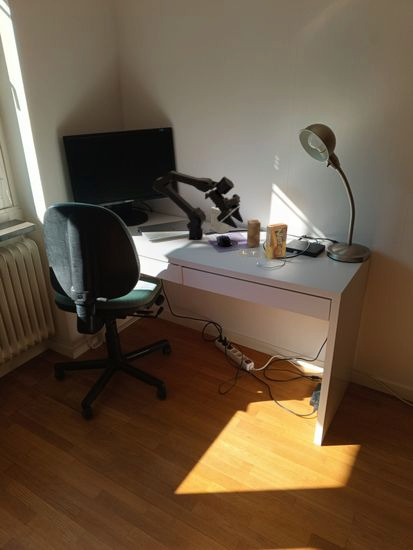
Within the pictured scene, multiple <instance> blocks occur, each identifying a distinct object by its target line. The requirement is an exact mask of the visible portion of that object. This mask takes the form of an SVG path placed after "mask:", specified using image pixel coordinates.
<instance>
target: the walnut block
mask: <svg viewBox="0 0 413 550" xmlns="http://www.w3.org/2000/svg"><path fill="white" fill-rule="evenodd" d="M261 224H262V222H261V221H259V220H258V219H251V220H248V219H247V230H246V232H247V233H246V235H247V236H246V245H247V246H248V247H249V248H258V247H260V245H261V242H260V240H261Z"/></svg>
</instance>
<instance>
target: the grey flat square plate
mask: <svg viewBox="0 0 413 550" xmlns="http://www.w3.org/2000/svg"><path fill="white" fill-rule="evenodd" d="M260 250H261V249H259V248H238V256H237V257H239V258H245V257H246V258H261V251H260Z"/></svg>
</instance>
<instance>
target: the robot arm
mask: <svg viewBox="0 0 413 550" xmlns="http://www.w3.org/2000/svg"><path fill="white" fill-rule="evenodd" d="M173 181H175V182H177V183H182V184H185V185H188V186H191V187H194V188H195V189H196V190H198V191H200V192H201V193H204V200H208V199H209V200H211V201H212V203H213V204H214V207H215V208H218V209H219V210H220V211H221V213H220V215H219V216H217V220H218V221H219V222H220V221H222V220H223V221H222V222H221V223H225V224H227V225H229V227H232V228H234V229H238V225H237V224H236V223H235V221H234V219H235V220H237V221H238V222H239V223H241V224H242V223H243V222H244V220H243V217H242V215H241V213H240V208H241V204H240V203H241V200H240V199H241V196H240V195H238V194H237V193H235V194H233V195H232V197H231V198H228V197H225V196H224V195H227V194H228V193H229V192H230V191H232V190H233V188H234V187H235V184H234V183H233V181H232V180H231V179H230V178H228V177H226V176H223V177H222V178H221V179H220V180H219V181H215V180H213V179H212V178H211V177H210V178H209V177H197V176H193V175H189V174H185V173H181V172H178V171H175V170H172V171H169V172H167V174H165V175H164V176H161V177H159V178H157V179H155V180H153V182H152V188H153V190H155V191H156V192H158V193H159V194H162V195H165V196H166V197H167V198H168V199H170V200H171V201H172V202H173V203H174V204H175V205H176V206H177V207H178V208H179V209H180V210H182V212H184V213H185V214H186V216H187V218H188V220H189V222H188V223H186V226H187V229H188V241H190V240H192V241H193V240H194V241H195V240H196V241H197V240H198V241H202V238H203V236H204V232H203V231H204V229H203V226H202V225H204V223H205V222H206V220H207V215H206V213H205V211H203V210H202V209H201V208H200V207H199V206H198V207H196V208H195V207H193V206H192V205H191V204H190V203H189V202H188V201H187V200H186V199H185V198H183V197H182V196H181V195H180V194H179V193H178V192H177V191H176V190H175V189H174V188H173V186H172V183H171V182H173ZM233 218H234V219H233Z"/></svg>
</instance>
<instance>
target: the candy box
mask: <svg viewBox="0 0 413 550" xmlns="http://www.w3.org/2000/svg"><path fill="white" fill-rule="evenodd" d="M288 228H289V226H288V224H285V223H284V222H280V223H275V224H268V225H266V233H265V234H266V235H265V251H264V257H266V258H267V259H268V260H270V259H271V260H272V259H276V258H281V257H285V256H286V249H287V236H288Z"/></svg>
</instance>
